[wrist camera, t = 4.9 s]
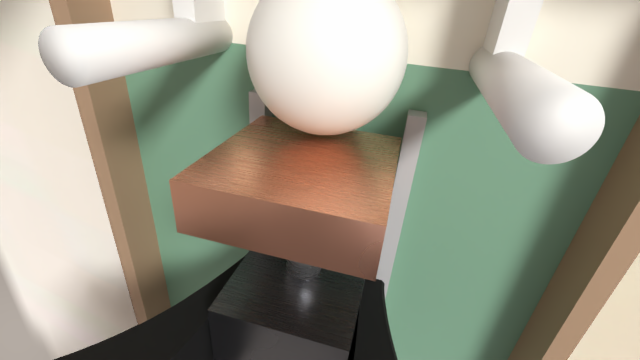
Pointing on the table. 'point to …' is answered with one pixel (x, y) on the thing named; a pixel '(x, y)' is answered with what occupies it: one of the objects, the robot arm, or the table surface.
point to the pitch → (413, 161)
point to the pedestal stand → (290, 235)
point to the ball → (327, 61)
